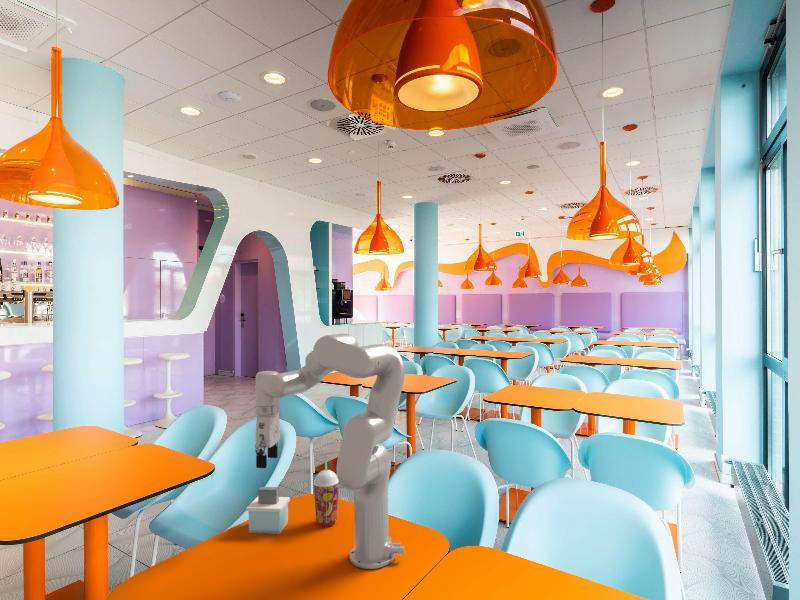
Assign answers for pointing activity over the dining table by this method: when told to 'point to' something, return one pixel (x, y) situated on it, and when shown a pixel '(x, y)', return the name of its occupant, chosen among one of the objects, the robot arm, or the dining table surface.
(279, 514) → the tub
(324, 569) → the dining table surface
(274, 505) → the lid
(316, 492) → the smoothie
